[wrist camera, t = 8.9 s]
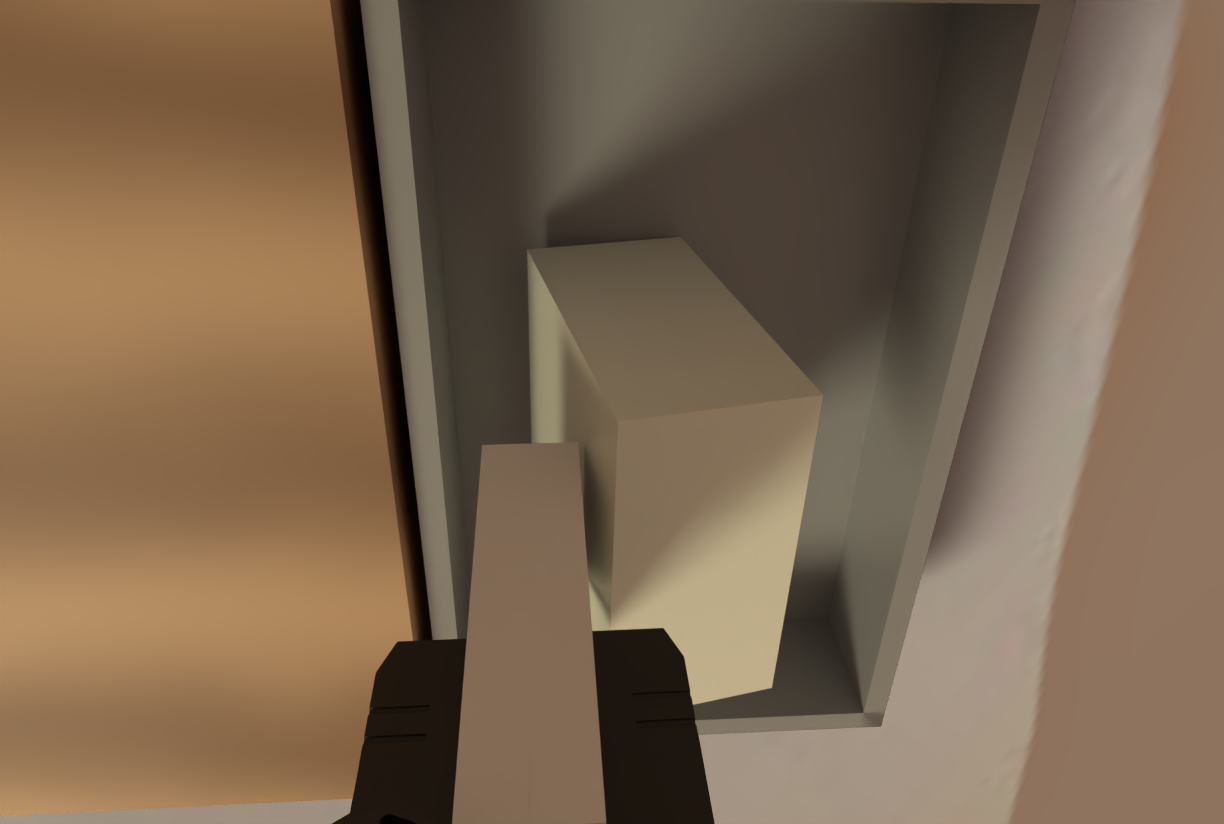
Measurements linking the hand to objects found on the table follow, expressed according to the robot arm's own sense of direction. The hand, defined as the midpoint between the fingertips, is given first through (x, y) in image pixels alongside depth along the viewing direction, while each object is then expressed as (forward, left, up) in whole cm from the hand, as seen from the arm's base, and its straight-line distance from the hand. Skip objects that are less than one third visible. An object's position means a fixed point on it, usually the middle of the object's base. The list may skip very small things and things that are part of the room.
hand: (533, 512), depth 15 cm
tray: (0, +3, -5) cm, 6 cm away
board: (0, -9, -5) cm, 10 cm away
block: (0, +1, -1) cm, 1 cm away
